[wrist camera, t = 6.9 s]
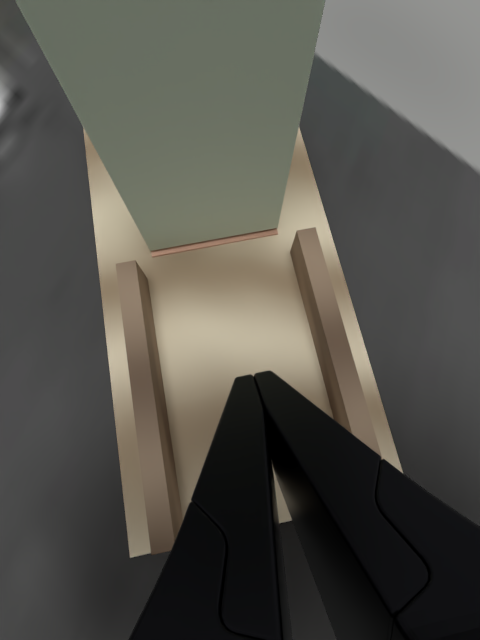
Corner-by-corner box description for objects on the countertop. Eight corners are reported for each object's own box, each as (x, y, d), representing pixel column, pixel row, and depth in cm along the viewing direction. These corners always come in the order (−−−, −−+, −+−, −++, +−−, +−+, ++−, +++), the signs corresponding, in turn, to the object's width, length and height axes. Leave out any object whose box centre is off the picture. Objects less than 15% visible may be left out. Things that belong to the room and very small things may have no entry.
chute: (400, 489, 15) (436, 506, 12) (136, 550, 14) (111, 582, 11) (287, 106, 20) (294, 57, 17) (89, 139, 19) (64, 93, 16)
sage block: (277, 227, 17) (348, -110, 6) (150, 251, 16) (-19, -63, 6) (255, 140, 18) (279, -267, 7) (136, 160, 17) (-23, -236, 7)
